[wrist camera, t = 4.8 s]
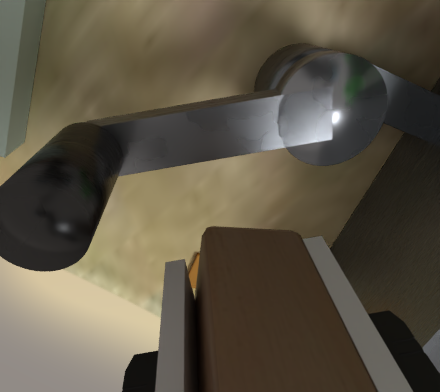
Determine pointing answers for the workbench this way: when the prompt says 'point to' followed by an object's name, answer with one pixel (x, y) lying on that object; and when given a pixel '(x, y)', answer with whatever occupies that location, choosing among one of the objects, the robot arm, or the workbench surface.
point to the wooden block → (269, 318)
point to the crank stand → (391, 210)
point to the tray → (17, 67)
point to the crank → (183, 150)
